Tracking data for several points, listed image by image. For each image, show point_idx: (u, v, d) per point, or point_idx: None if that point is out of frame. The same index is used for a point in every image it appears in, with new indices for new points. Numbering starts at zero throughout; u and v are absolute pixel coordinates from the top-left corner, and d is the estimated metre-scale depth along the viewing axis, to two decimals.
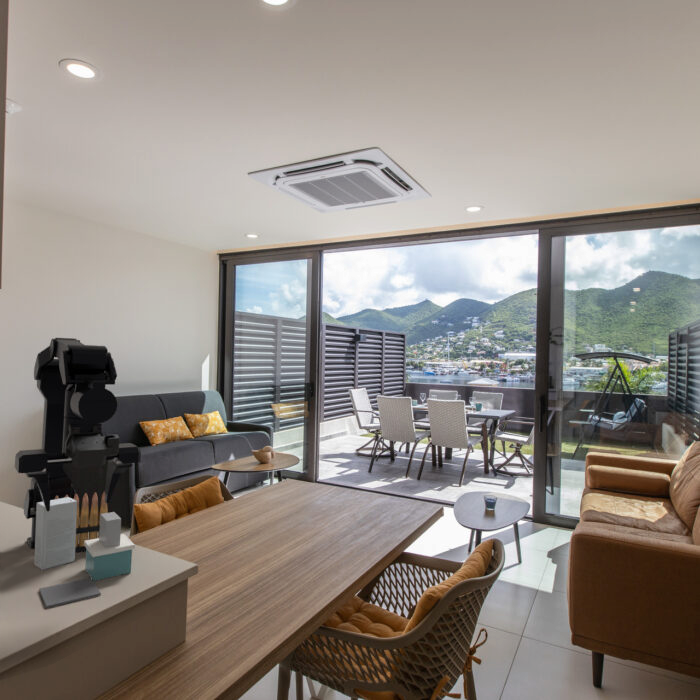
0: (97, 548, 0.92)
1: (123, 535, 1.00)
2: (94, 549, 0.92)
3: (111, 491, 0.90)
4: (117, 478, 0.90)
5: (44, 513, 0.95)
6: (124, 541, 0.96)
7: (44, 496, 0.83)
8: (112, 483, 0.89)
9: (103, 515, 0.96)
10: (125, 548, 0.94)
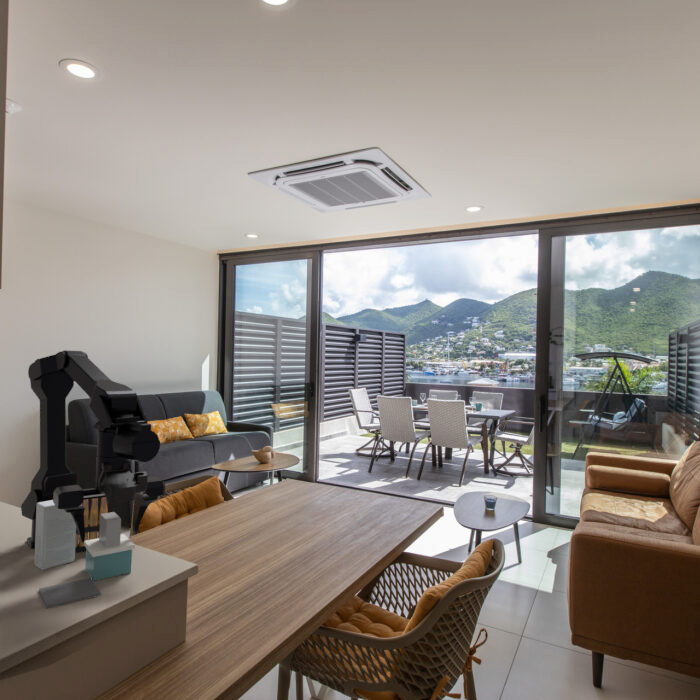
0: (97, 548, 0.92)
1: (123, 535, 1.00)
2: (94, 549, 0.92)
3: (138, 522, 0.98)
4: (144, 510, 0.98)
5: (44, 513, 0.95)
6: (124, 541, 0.96)
7: (80, 528, 0.91)
8: (139, 514, 0.98)
9: (103, 515, 0.96)
10: (125, 548, 0.94)
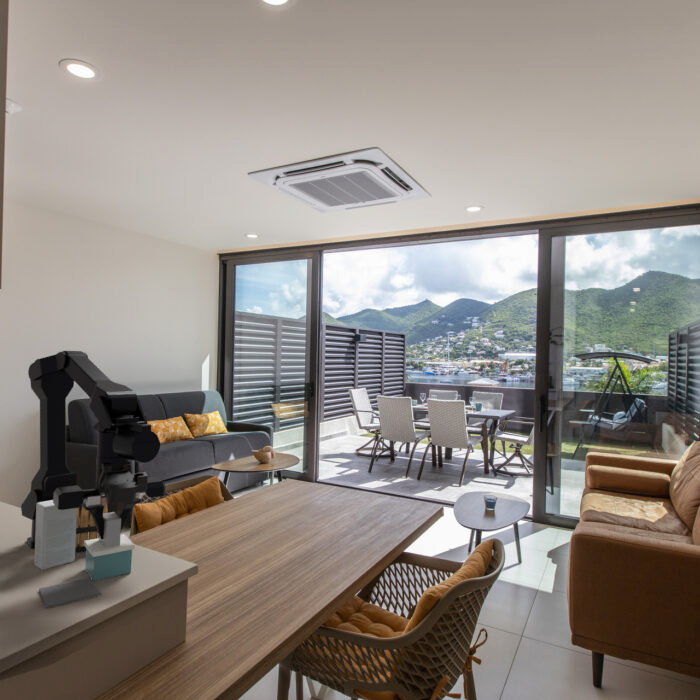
0: (97, 548, 0.92)
1: (123, 535, 1.00)
2: (94, 549, 0.92)
3: (121, 525, 0.96)
4: (127, 513, 0.96)
5: (43, 513, 0.95)
6: (124, 541, 0.96)
7: (99, 526, 0.93)
8: (122, 518, 0.96)
9: (103, 515, 0.96)
10: (125, 548, 0.94)
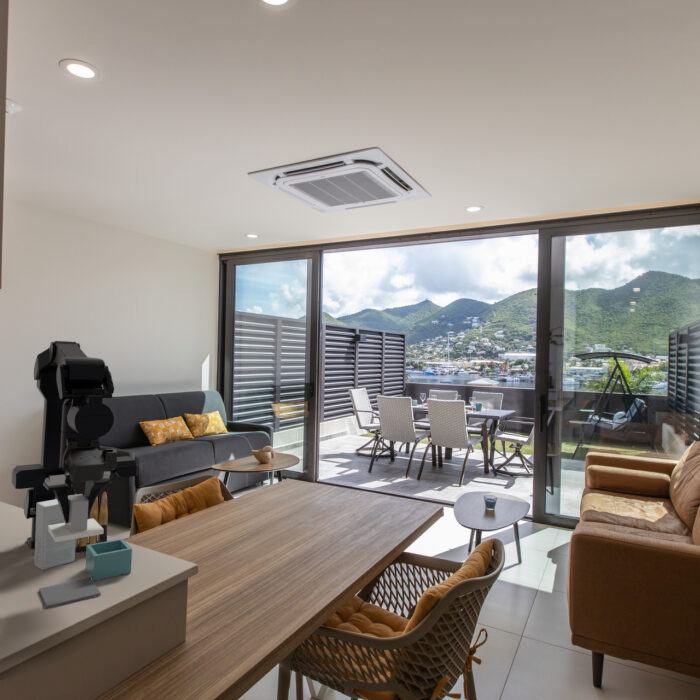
0: (61, 533, 0.83)
1: (92, 520, 0.91)
2: (57, 534, 0.83)
3: (89, 508, 0.87)
4: (95, 494, 0.87)
5: (43, 513, 0.95)
6: (92, 525, 0.88)
7: (63, 508, 0.84)
8: (90, 500, 0.87)
9: (69, 497, 0.87)
10: (93, 533, 0.85)
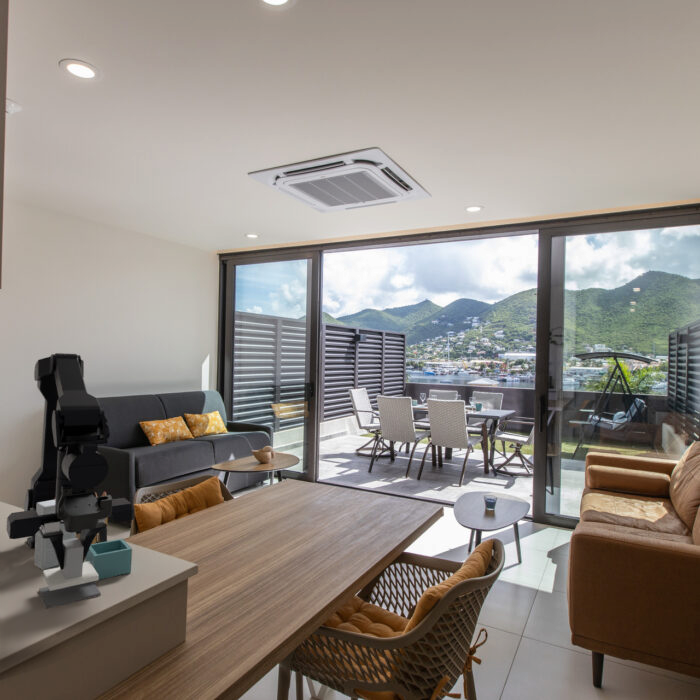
0: (56, 580, 0.83)
1: (88, 563, 0.90)
2: (52, 581, 0.83)
3: (84, 553, 0.87)
4: (91, 540, 0.87)
5: (43, 513, 0.95)
6: (88, 570, 0.87)
7: (58, 555, 0.84)
8: (85, 545, 0.86)
9: (64, 542, 0.87)
10: (88, 579, 0.84)
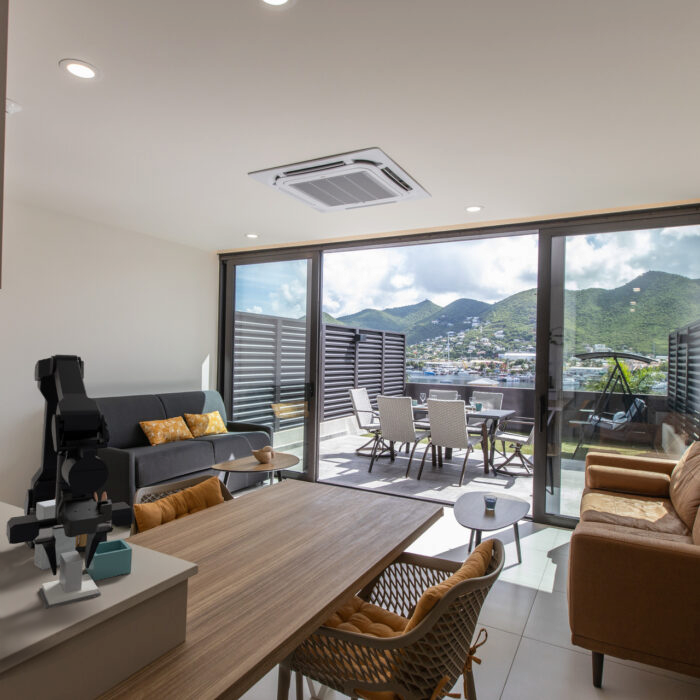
0: (55, 594, 0.83)
1: (87, 576, 0.90)
2: (51, 595, 0.82)
3: (91, 556, 0.87)
4: (97, 543, 0.87)
5: (43, 513, 0.95)
6: (87, 584, 0.87)
7: (51, 561, 0.83)
8: (92, 548, 0.87)
9: (63, 555, 0.86)
10: (87, 593, 0.84)
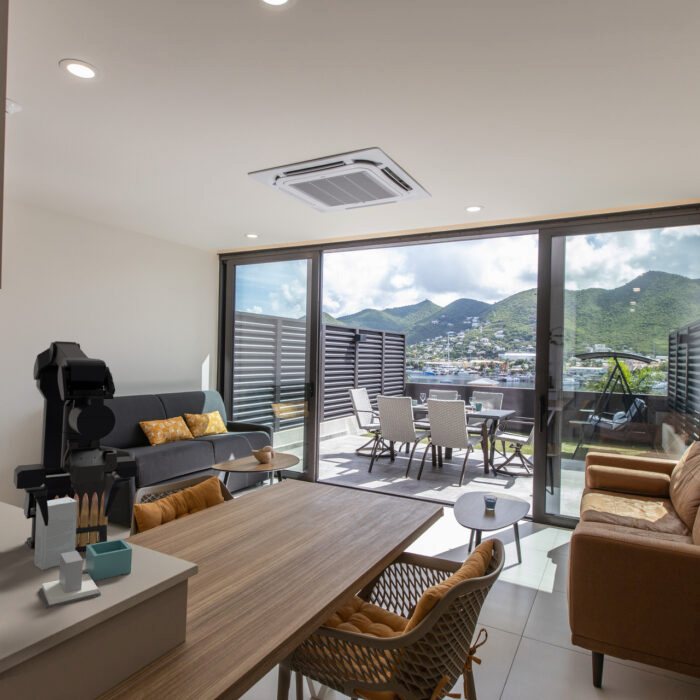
0: (55, 594, 0.83)
1: (87, 576, 0.90)
2: (51, 595, 0.82)
3: (109, 505, 0.90)
4: (115, 492, 0.90)
5: None
6: (87, 584, 0.87)
7: (42, 511, 0.83)
8: (110, 497, 0.90)
9: (63, 555, 0.86)
10: (87, 593, 0.84)
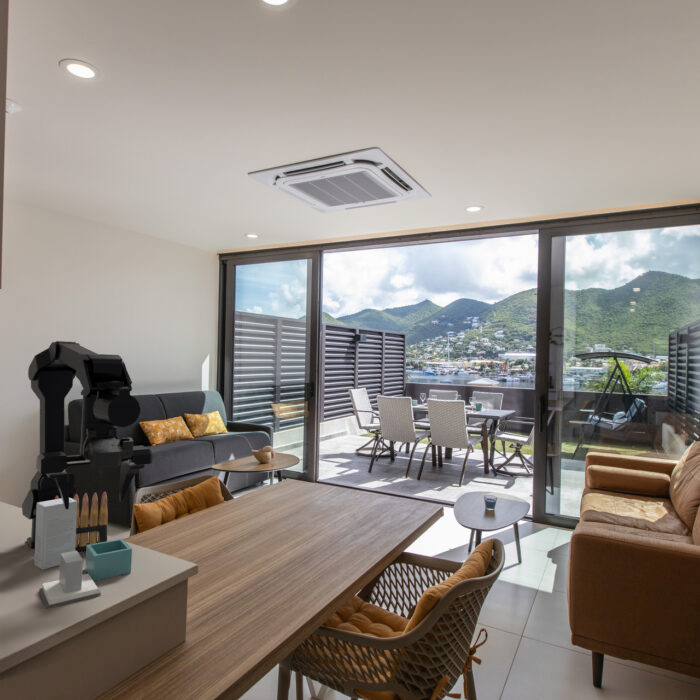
0: (55, 594, 0.83)
1: (87, 576, 0.90)
2: (51, 595, 0.82)
3: (125, 490, 0.96)
4: (130, 478, 0.96)
5: (44, 513, 0.95)
6: (87, 584, 0.87)
7: (64, 495, 0.89)
8: (126, 483, 0.96)
9: (63, 555, 0.86)
10: (87, 593, 0.84)
